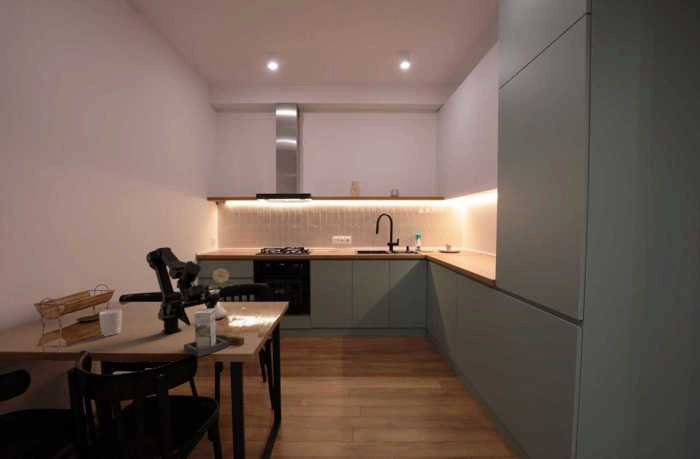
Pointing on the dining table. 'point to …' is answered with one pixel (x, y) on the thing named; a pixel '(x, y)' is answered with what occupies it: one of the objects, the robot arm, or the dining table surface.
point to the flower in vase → (219, 277)
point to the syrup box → (205, 328)
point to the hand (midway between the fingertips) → (201, 321)
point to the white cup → (111, 321)
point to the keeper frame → (191, 348)
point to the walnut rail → (231, 338)
